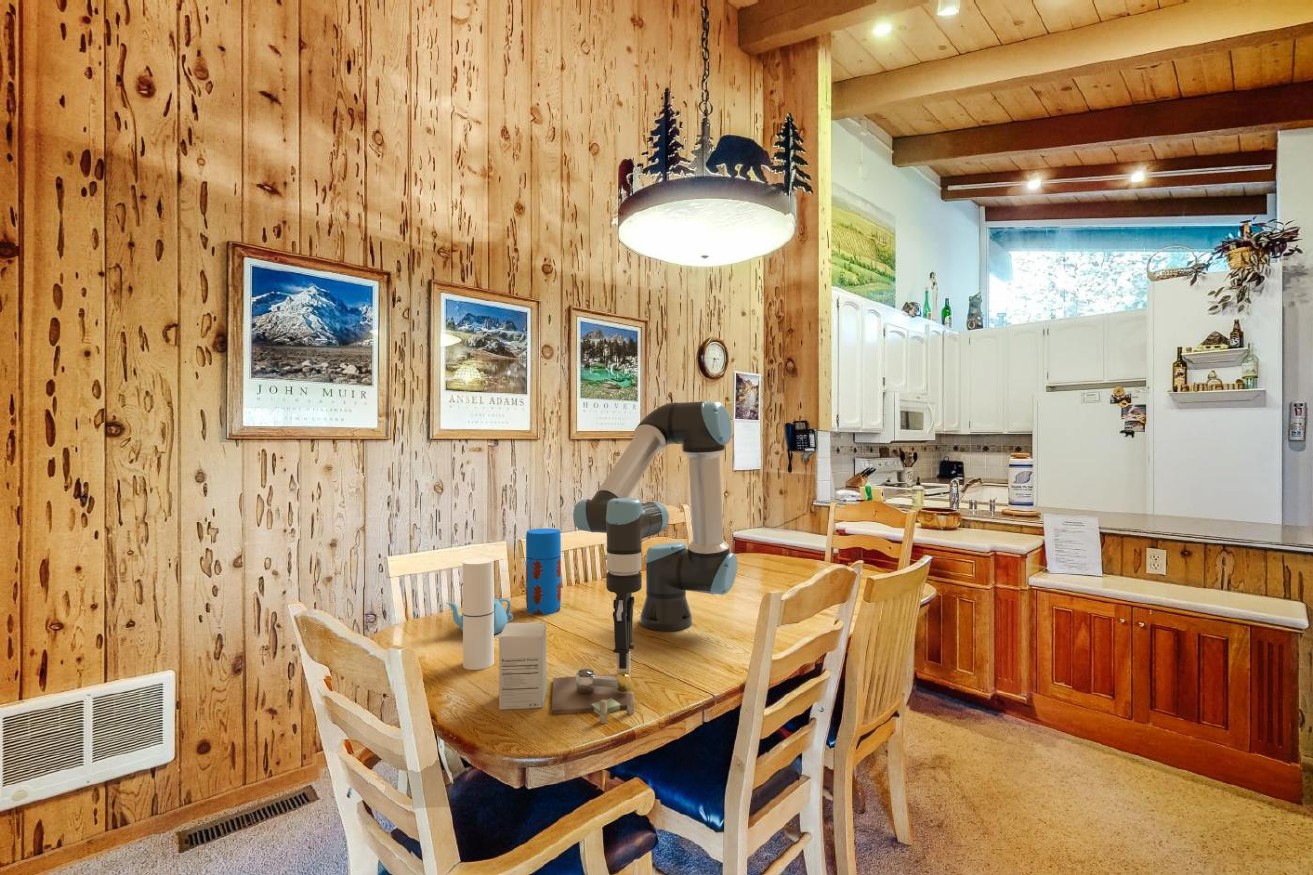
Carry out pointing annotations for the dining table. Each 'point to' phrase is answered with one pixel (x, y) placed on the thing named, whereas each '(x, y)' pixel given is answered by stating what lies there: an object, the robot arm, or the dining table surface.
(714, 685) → the dining table surface
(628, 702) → the dial board
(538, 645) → the supplement box
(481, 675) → the dining table surface
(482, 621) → the cylindrical container
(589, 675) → the crank handle
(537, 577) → the thermos
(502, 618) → the teapot
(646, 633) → the dining table surface
